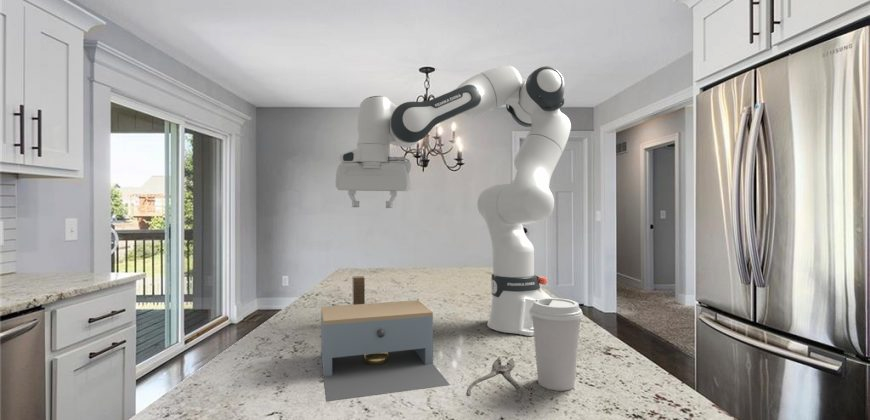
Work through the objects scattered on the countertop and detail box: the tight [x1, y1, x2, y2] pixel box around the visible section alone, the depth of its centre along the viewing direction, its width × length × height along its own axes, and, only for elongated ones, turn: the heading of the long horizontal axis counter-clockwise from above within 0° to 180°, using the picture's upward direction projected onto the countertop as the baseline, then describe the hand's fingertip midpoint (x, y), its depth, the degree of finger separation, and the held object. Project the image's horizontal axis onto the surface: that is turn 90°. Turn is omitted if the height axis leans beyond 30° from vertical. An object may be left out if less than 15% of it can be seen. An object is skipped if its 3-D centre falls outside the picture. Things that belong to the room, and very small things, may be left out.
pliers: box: [466, 356, 523, 403], centre depth 82 cm, size 10×1×20 cm
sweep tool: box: [352, 275, 366, 305], centre depth 110 cm, size 8×23×13 cm, turn 17°
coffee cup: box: [530, 297, 584, 392], centre depth 79 cm, size 10×10×15 cm
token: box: [364, 352, 388, 365], centre depth 90 cm, size 5×5×2 cm
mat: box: [323, 349, 451, 402], centre depth 87 cm, size 22×25×1 cm
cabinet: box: [320, 299, 434, 377], centre depth 91 cm, size 22×13×11 cm, turn 107°
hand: (372, 207), depth 115 cm, fingers open, 8 cm apart
